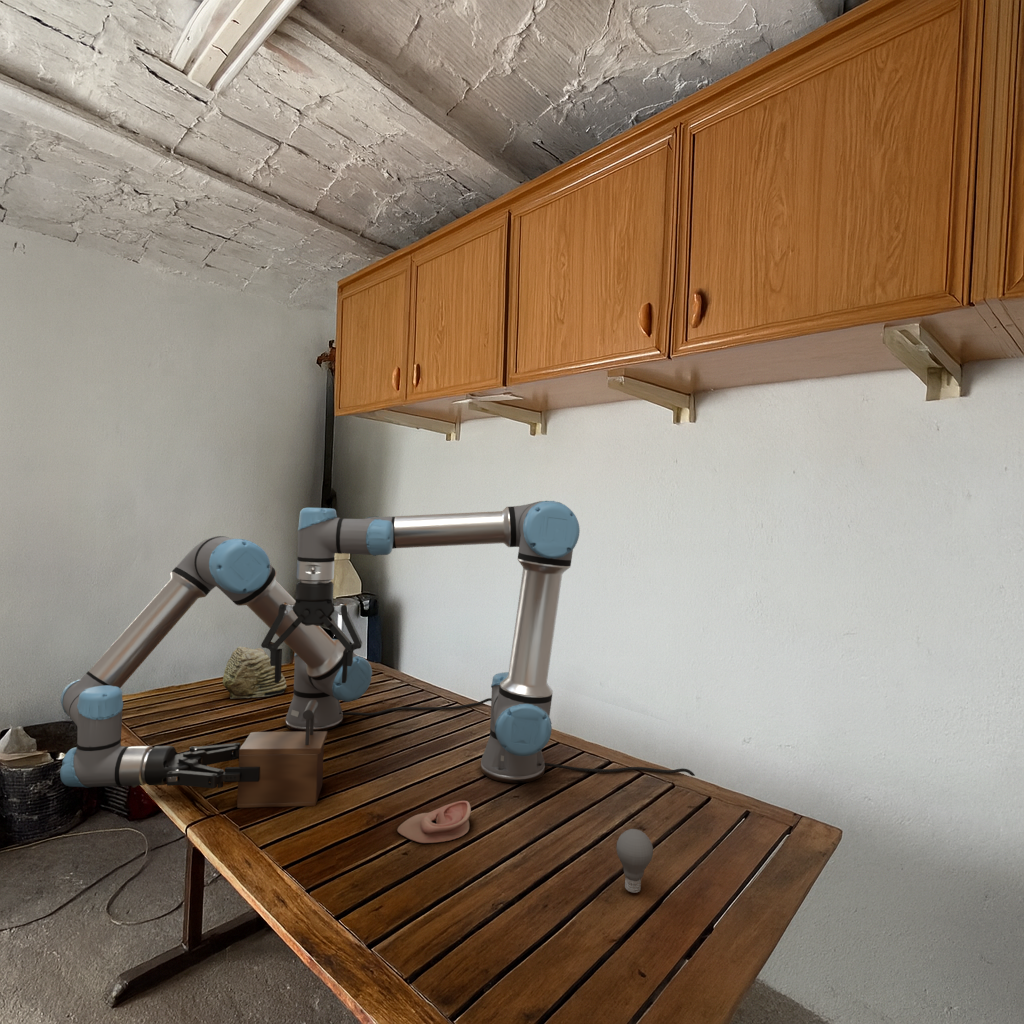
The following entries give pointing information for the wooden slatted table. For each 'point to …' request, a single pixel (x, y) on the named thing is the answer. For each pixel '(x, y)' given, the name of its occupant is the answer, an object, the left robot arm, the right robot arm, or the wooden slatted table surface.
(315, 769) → the chest
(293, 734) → the lid
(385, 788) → the wooden slatted table surface
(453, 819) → the anatomical model
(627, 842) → the light bulb
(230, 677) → the fossil
